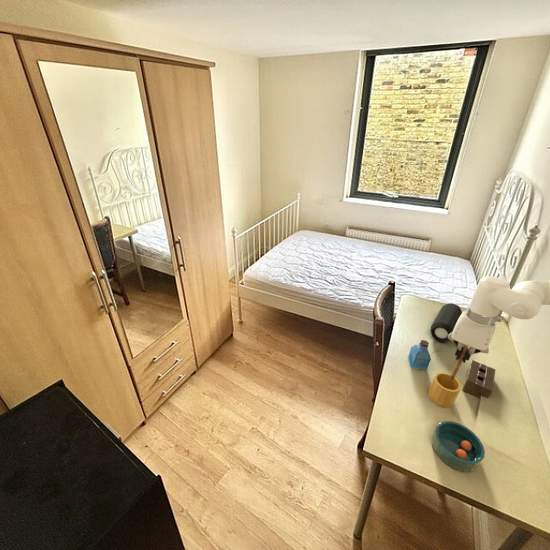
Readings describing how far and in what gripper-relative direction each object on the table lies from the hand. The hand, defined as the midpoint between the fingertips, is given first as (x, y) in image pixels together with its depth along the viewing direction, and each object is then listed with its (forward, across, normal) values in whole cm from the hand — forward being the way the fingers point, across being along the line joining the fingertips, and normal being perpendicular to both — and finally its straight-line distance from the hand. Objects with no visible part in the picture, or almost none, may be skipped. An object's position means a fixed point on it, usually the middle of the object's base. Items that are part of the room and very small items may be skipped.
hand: (460, 358), depth 99 cm
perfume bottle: (+23, +12, -16) cm, 31 cm away
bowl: (+23, -7, +17) cm, 29 cm away
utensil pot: (+23, +1, -2) cm, 23 cm away
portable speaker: (+23, +8, -48) cm, 54 cm away
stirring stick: (+11, 0, -1) cm, 11 cm away
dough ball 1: (+21, -10, +14) cm, 27 cm away
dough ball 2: (+21, -9, +19) cm, 29 cm away
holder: (+23, -10, -18) cm, 31 cm away
